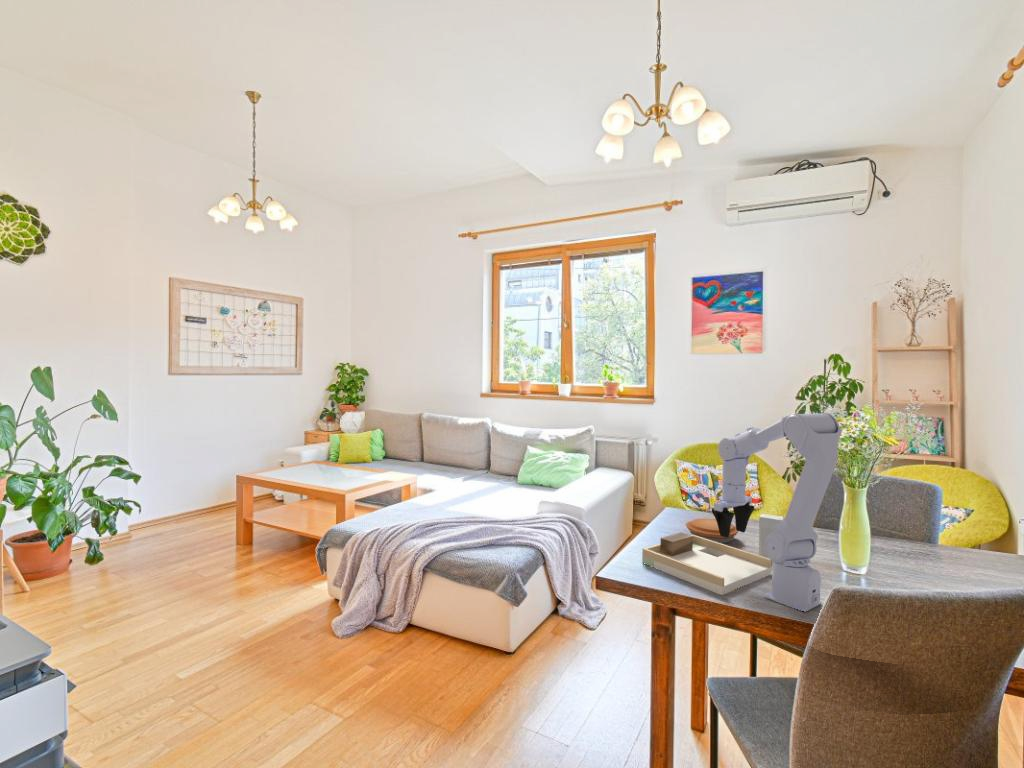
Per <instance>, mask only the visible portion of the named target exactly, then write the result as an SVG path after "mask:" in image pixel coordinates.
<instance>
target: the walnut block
mask: <svg viewBox="0 0 1024 768" xmlns="http://www.w3.org/2000/svg"><path fill="white" fill-rule="evenodd" d="M691 535H692V534H688V533H684V532H681V531H680V532H676V533H674V534H669V535H665V536H663V537H660V543H659V544H660V552H662V553H664V554H667V555H670V556H675V555H678V554H681V553H685V552H688V551H691V550H692V549H693V536H691Z"/></svg>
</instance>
